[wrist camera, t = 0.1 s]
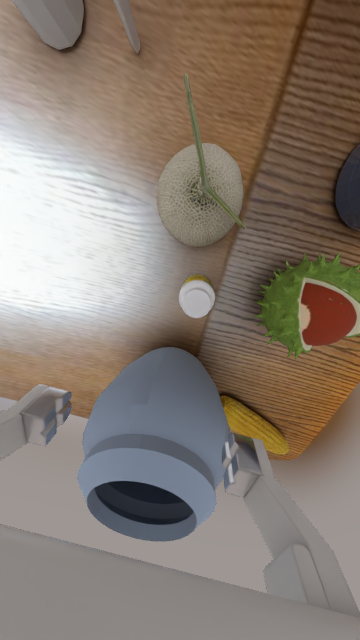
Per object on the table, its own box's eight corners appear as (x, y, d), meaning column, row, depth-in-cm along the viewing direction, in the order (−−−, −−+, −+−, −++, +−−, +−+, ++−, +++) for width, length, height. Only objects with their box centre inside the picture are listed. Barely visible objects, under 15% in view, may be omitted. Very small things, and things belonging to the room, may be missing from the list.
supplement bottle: (218, 281, 33) (224, 295, 24) (204, 307, 35) (205, 329, 26) (190, 268, 32) (186, 277, 23) (178, 295, 34) (170, 314, 25)
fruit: (210, 262, 32) (217, 276, 18) (153, 219, 30) (113, 199, 16) (253, 202, 28) (306, 162, 14) (191, 150, 26) (181, 45, 12)
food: (209, 400, 43) (210, 423, 38) (225, 386, 41) (229, 408, 36) (274, 443, 46) (284, 469, 41) (292, 431, 44) (305, 458, 39)
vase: (238, 357, 38) (292, 519, 16) (185, 410, 45) (171, 573, 23) (158, 305, 35) (86, 410, 13) (116, 370, 43) (23, 510, 20)
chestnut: (412, 333, 24) (313, 399, 25) (314, 291, 35) (250, 338, 37) (449, 230, 15) (293, 340, 17) (302, 218, 27) (218, 284, 28)
